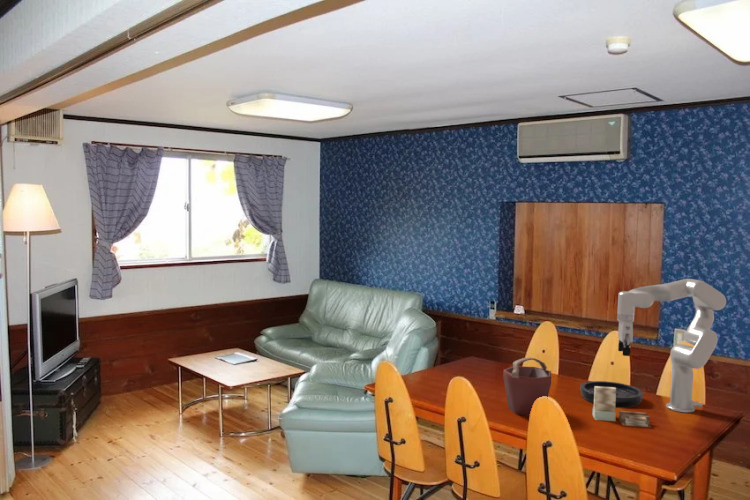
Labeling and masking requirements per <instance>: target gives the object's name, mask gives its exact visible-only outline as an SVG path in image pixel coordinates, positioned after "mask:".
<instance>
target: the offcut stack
mask: <svg viewBox="0 0 750 500" xmlns="http://www.w3.org/2000/svg"><path fill="white" fill-rule="evenodd" d="M646 421H647V419H646V417H638V416H629V418H625V424H626V425H631V426H630V427H638V426H645V427H644V428H649V427H648V424H647V422H646Z"/></svg>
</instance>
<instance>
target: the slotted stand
mask: <svg viewBox="0 0 750 500" xmlns="http://www.w3.org/2000/svg"><path fill="white" fill-rule="evenodd" d="M593 410H594V406H592V411H593ZM616 414H617V412H616V411H615V412H609V411H595V410H594V416H593V412H592V414H591V415H592V417H593V419H594V420H596V421H606V422H607V421H608V422H616V416H617V415H616Z"/></svg>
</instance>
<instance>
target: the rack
mask: <svg viewBox="0 0 750 500" xmlns="http://www.w3.org/2000/svg"><path fill="white" fill-rule="evenodd" d="M629 416H638V417H646V419H647V421H646V422H647V424H648V427H647V428H652V425H650V417H651V416H649V415H648V413H647V412H640V411H625V410H619V411H618V418H617V419H618V420H619V422H620V423H621V425H622V426H627V427H628V426H629V427H632V426H631V425H626V424H625V418H629ZM637 427H640V428H641V427H642V428H646V427H645V426H637Z"/></svg>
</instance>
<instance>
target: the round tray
mask: <svg viewBox="0 0 750 500" xmlns="http://www.w3.org/2000/svg"><path fill="white" fill-rule="evenodd" d="M595 386H601V387H615V388H616V403H615V408H618V407H629V408H635V407H637V406H639V405H641V402H642V400H643V397H644V392H643V391H642V389H640V388H638V387H636V386H633V385H629V384H625V383H621V382H616V381H615V382H614V381H605V380H604V381H601V380H595V381H594V380H593V381H586V382H583V383H581V384H580V386H579V387H580V393H581V396H582V398H583V399H584V400H585V399H586V401H587V402H589V403H591V402H592V404H594V387H595ZM634 406H635V407H634Z"/></svg>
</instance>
